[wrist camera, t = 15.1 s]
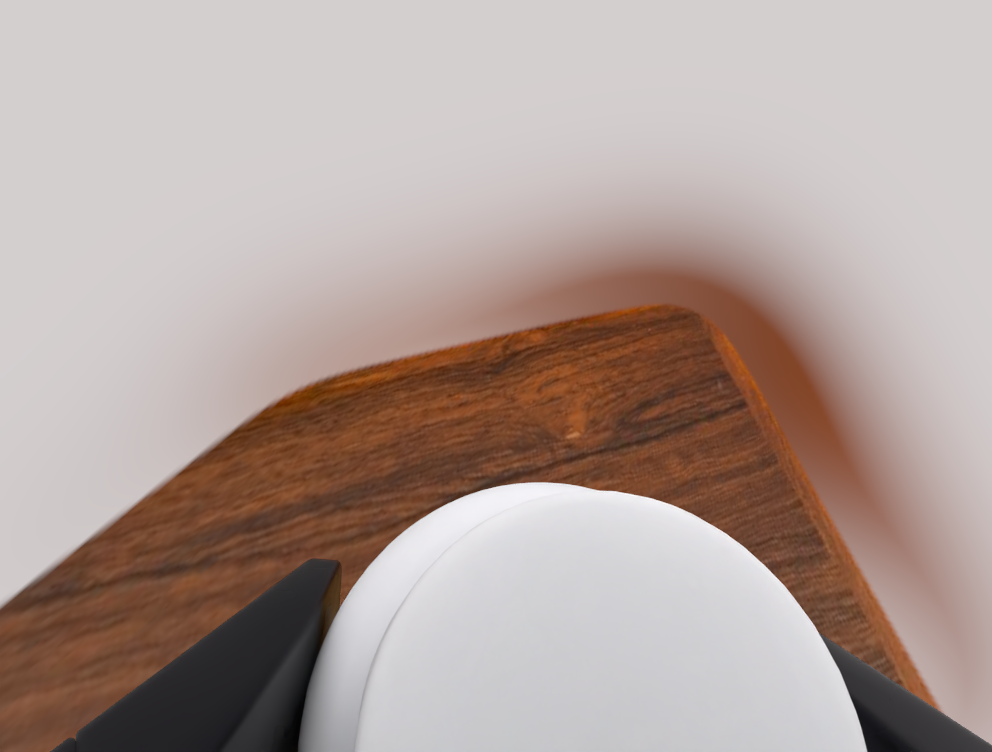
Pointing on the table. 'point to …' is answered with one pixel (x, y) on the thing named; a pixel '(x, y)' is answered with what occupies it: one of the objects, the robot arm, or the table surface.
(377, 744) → the supplement bottle
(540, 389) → the table surface
